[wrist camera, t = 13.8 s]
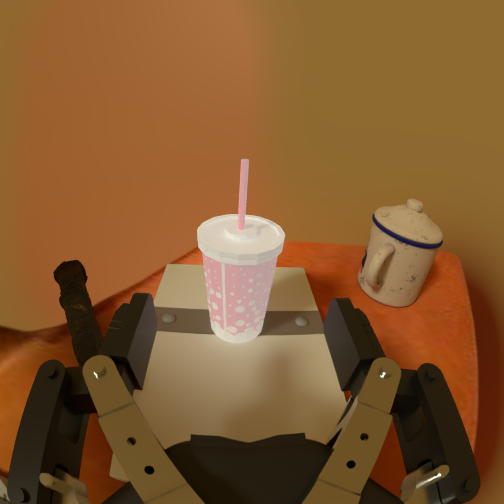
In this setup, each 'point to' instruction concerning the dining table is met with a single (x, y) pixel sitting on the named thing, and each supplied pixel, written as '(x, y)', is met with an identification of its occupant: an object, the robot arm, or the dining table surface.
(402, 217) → the teacup with lid
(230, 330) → the beverage cup
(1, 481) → the walkie-talkie
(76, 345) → the hand tool
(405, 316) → the dining table surface
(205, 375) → the floor panel
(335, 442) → the robot arm
